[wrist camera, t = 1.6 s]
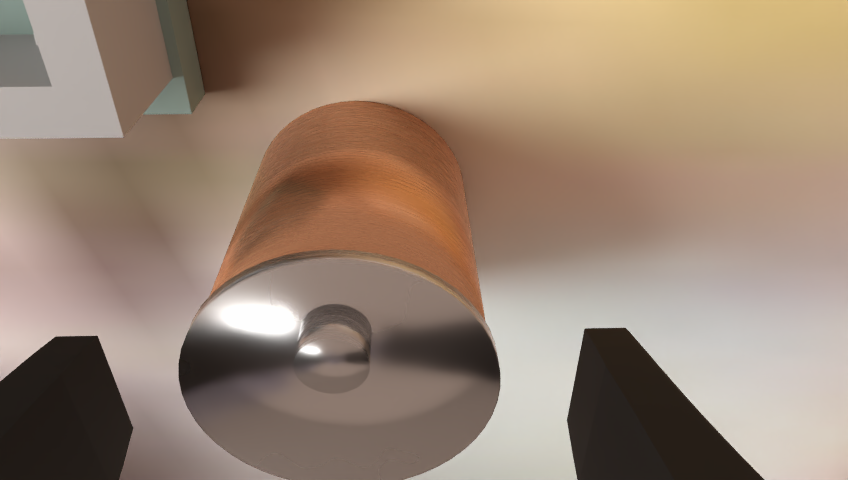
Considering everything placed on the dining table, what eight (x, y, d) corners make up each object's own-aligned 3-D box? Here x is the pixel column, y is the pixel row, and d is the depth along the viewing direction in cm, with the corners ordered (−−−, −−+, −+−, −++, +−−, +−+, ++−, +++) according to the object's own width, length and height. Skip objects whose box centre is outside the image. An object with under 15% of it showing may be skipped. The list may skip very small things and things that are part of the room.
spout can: (464, 280, 16) (495, 521, 11) (268, 283, 16) (201, 528, 10) (473, 95, 13) (520, 294, 8) (236, 97, 13) (122, 300, 8)
